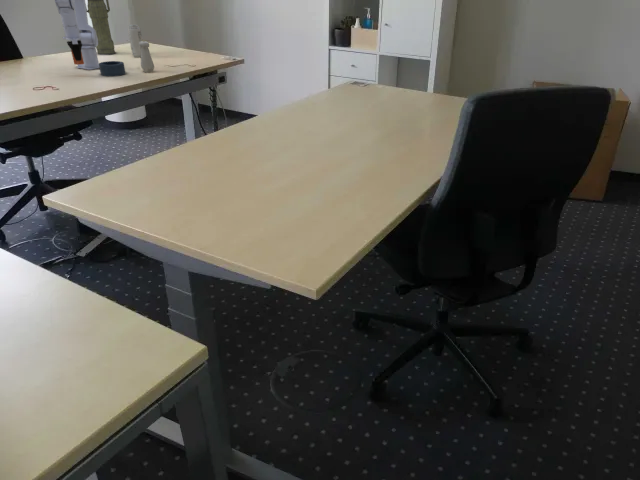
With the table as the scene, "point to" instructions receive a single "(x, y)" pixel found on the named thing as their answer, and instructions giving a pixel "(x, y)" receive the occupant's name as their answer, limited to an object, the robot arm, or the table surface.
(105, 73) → the dark blue bowl
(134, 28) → the energy drink can
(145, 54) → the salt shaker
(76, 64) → the shaker
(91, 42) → the robot arm
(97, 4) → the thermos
